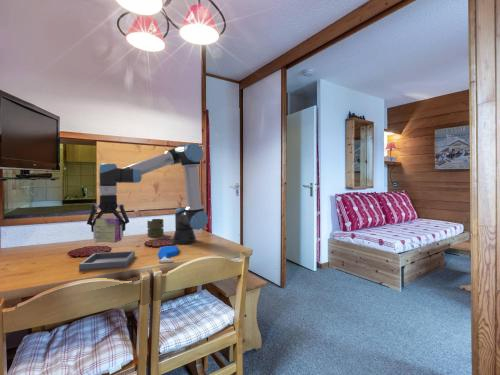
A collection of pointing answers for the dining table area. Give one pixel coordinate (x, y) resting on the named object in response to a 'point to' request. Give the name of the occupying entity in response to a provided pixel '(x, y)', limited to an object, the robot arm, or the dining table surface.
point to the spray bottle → (167, 253)
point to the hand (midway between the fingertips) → (108, 237)
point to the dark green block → (155, 228)
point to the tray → (107, 260)
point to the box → (107, 229)
